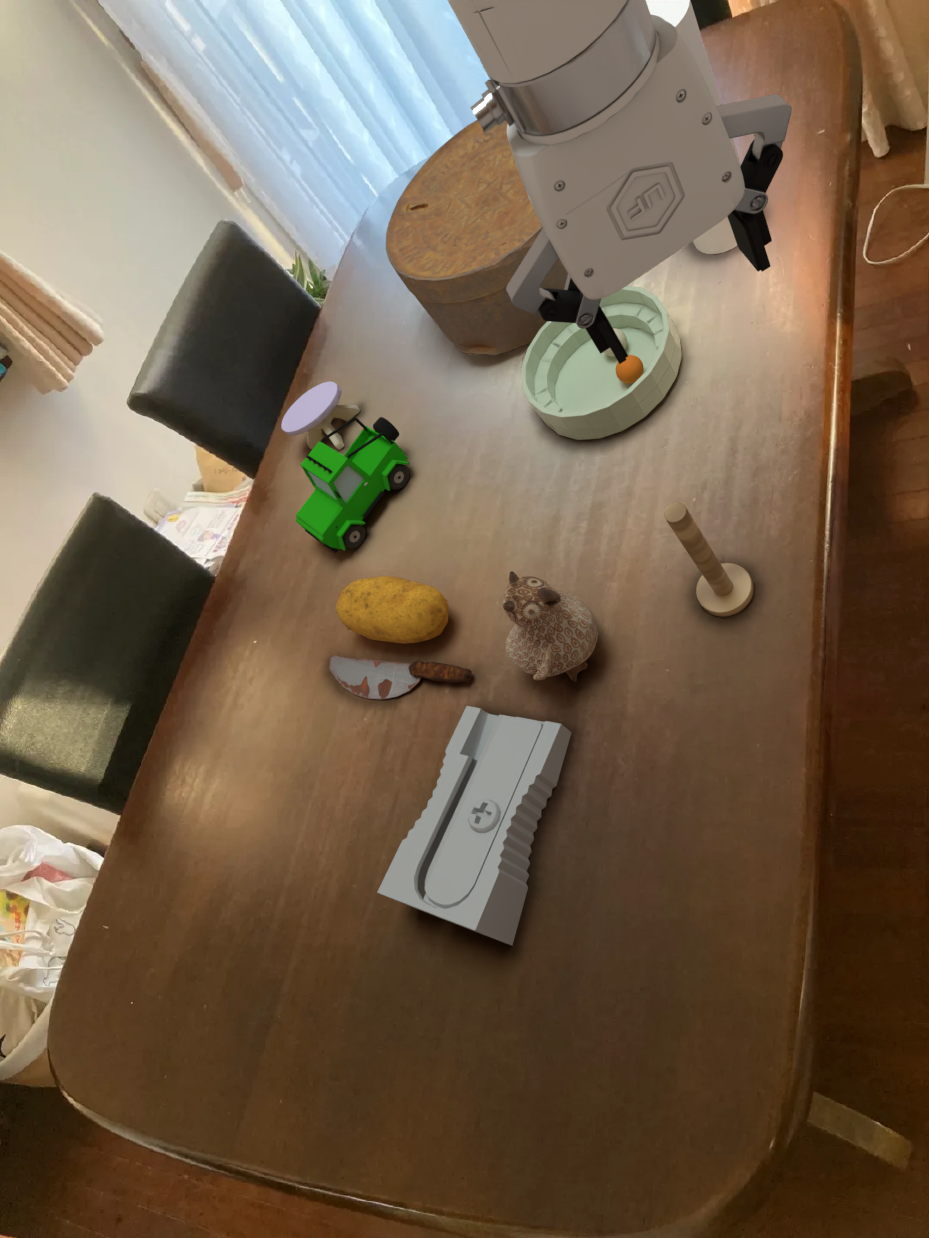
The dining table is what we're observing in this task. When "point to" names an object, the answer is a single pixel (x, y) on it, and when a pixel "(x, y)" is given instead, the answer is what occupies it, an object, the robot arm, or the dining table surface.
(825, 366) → the dining table surface
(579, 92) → the robot arm
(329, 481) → the toy car
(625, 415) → the bowl
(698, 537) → the wooden peg stand
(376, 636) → the potato
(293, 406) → the toy table
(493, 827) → the wedge sharpener
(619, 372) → the orange ball
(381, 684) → the kitchen knife
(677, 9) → the cylindrical container
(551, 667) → the figurine
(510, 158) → the container
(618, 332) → the cream ball
